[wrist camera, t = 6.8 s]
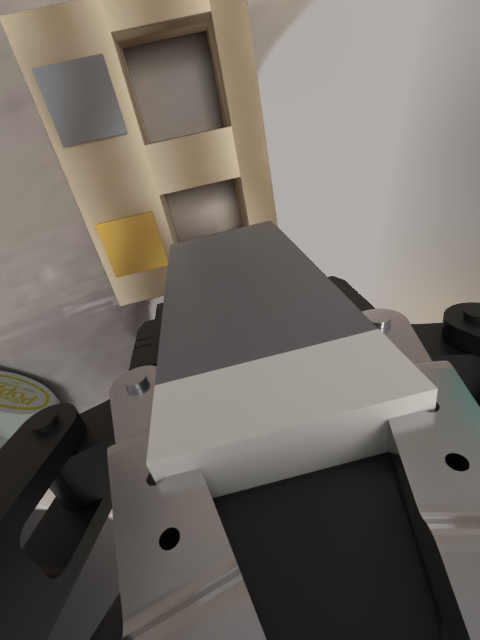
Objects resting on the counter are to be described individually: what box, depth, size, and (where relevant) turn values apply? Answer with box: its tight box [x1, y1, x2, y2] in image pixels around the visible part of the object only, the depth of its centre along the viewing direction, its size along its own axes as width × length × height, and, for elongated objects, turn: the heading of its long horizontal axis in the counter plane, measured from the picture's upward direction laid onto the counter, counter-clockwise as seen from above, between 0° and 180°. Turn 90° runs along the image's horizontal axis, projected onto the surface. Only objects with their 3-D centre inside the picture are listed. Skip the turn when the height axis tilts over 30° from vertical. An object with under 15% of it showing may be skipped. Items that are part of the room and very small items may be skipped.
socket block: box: [0, 0, 277, 306], centre depth 22 cm, size 12×16×4 cm
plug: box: [146, 220, 438, 498], centre depth 10 cm, size 4×4×10 cm
